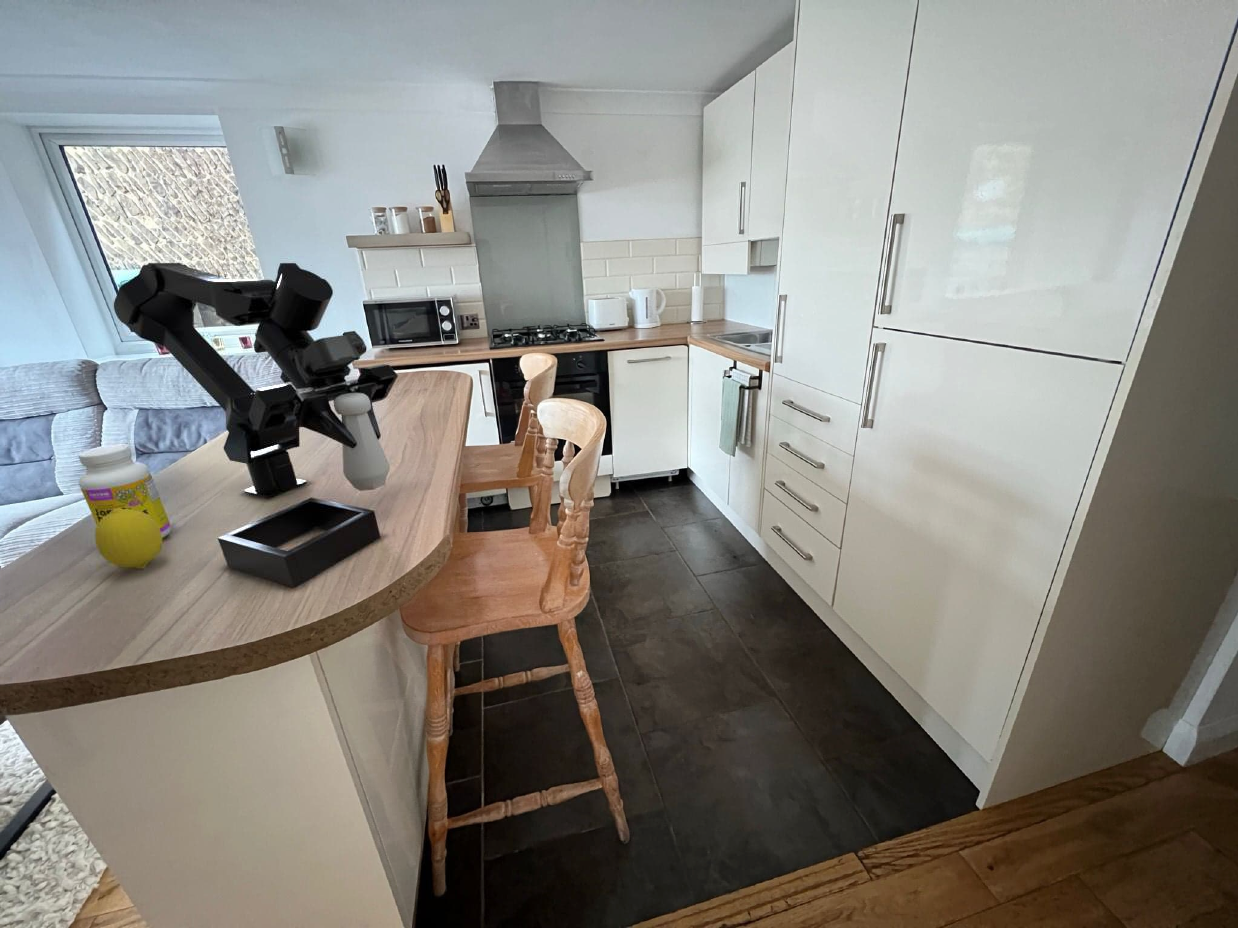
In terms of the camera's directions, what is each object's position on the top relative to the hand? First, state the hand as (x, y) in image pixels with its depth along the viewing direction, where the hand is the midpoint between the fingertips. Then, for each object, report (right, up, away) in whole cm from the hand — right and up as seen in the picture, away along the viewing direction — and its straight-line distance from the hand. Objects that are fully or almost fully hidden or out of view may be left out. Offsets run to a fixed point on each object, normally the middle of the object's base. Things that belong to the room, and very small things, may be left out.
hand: (367, 442), depth 68 cm
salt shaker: (-1, -6, +3) cm, 7 cm away
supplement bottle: (-30, -13, 0) cm, 33 cm away
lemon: (-24, -16, -7) cm, 29 cm away
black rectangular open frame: (-5, -14, -5) cm, 16 cm away
